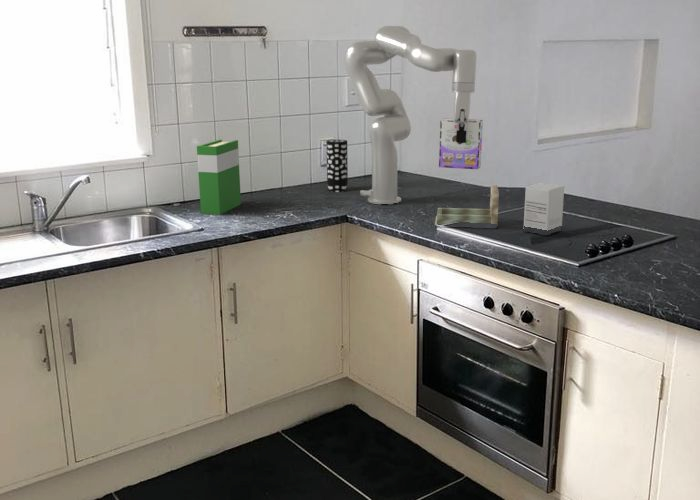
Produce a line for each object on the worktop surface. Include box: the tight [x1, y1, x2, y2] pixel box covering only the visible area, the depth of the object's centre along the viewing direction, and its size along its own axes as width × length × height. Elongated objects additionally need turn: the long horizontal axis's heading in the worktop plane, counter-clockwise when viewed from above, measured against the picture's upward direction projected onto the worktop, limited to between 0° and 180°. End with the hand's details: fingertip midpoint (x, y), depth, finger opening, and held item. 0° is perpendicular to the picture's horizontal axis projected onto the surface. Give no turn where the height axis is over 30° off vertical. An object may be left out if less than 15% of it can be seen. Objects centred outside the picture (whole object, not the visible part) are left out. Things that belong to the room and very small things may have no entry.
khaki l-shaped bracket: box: [434, 185, 500, 226], centre depth 249 cm, size 20×12×12 cm, turn 82°
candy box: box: [438, 117, 484, 170], centre depth 258 cm, size 14×6×16 cm, turn 71°
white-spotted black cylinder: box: [326, 139, 349, 193], centre depth 304 cm, size 8×8×20 cm
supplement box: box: [523, 182, 565, 231], centre depth 238 cm, size 9×9×15 cm
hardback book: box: [196, 139, 242, 216], centre depth 272 cm, size 18×7×24 cm, turn 163°
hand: (460, 140), depth 258 cm, fingers closed on candy box, 6 cm apart
